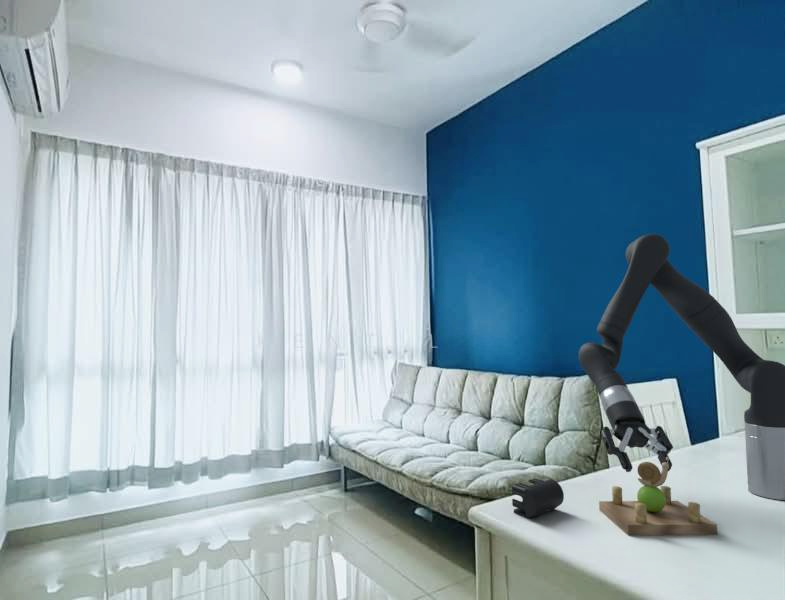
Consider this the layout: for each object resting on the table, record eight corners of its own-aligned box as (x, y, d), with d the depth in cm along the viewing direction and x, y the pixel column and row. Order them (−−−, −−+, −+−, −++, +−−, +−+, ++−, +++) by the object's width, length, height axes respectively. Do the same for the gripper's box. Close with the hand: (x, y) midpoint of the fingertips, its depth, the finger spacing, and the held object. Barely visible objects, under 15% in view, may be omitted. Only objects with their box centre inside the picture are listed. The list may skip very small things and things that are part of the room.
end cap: (537, 523, 100) (536, 491, 100) (511, 513, 105) (510, 482, 106) (564, 512, 106) (564, 482, 106) (538, 503, 111) (537, 474, 112)
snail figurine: (669, 519, 96) (666, 460, 97) (635, 512, 100) (632, 455, 101) (673, 511, 100) (671, 454, 101) (641, 504, 104) (638, 450, 105)
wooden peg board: (678, 509, 107) (676, 485, 107) (717, 534, 94) (716, 506, 94) (599, 510, 107) (598, 485, 107) (628, 535, 94) (626, 507, 94)
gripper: (596, 399, 112) (622, 461, 100) (655, 398, 112) (688, 460, 100) (588, 417, 117) (611, 479, 105) (644, 417, 117) (674, 478, 105)
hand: (649, 470), depth 102 cm, fingers open, 8 cm apart
